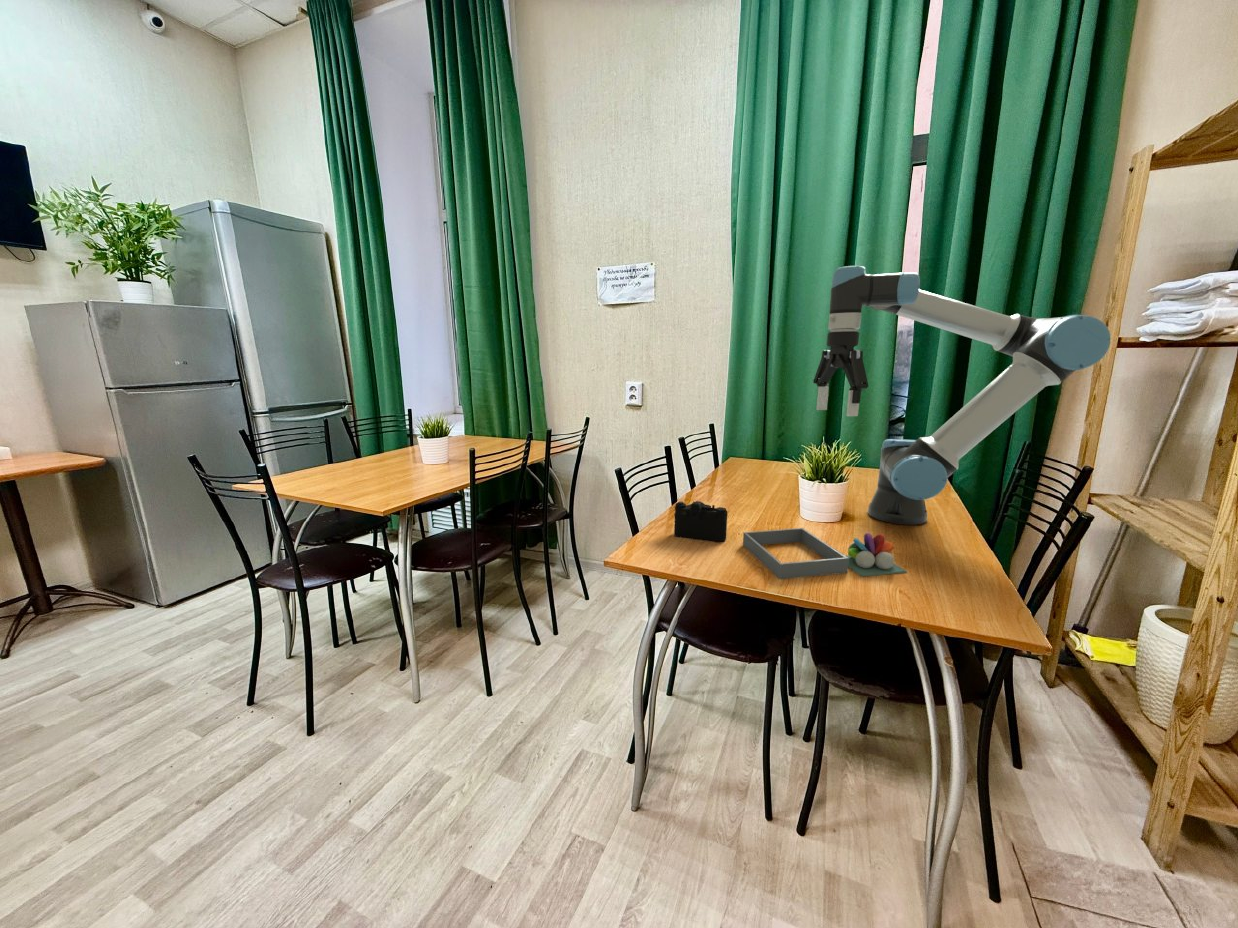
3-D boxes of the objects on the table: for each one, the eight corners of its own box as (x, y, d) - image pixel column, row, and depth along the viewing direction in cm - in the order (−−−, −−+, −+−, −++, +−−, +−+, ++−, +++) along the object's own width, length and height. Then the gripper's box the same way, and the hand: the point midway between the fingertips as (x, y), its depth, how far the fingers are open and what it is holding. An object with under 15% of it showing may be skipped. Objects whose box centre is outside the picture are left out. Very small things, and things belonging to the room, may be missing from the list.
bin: (801, 540, 127) (802, 527, 126) (847, 572, 108) (848, 558, 108) (742, 545, 124) (743, 532, 123) (779, 579, 106) (780, 564, 105)
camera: (731, 530, 134) (733, 496, 132) (724, 545, 125) (725, 508, 123) (683, 524, 140) (683, 491, 138) (671, 537, 130) (672, 501, 128)
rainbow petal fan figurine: (899, 572, 107) (903, 541, 106) (852, 570, 109) (855, 539, 107) (885, 556, 115) (889, 528, 114) (842, 554, 117) (845, 526, 115)
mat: (876, 554, 118) (876, 552, 118) (906, 572, 108) (906, 570, 108) (834, 558, 116) (834, 556, 116) (861, 576, 106) (862, 575, 106)
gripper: (804, 332, 137) (798, 408, 142) (861, 329, 113) (852, 419, 118) (828, 332, 138) (822, 407, 143) (890, 328, 114) (880, 418, 119)
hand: (836, 413), depth 131 cm, fingers open, 13 cm apart
